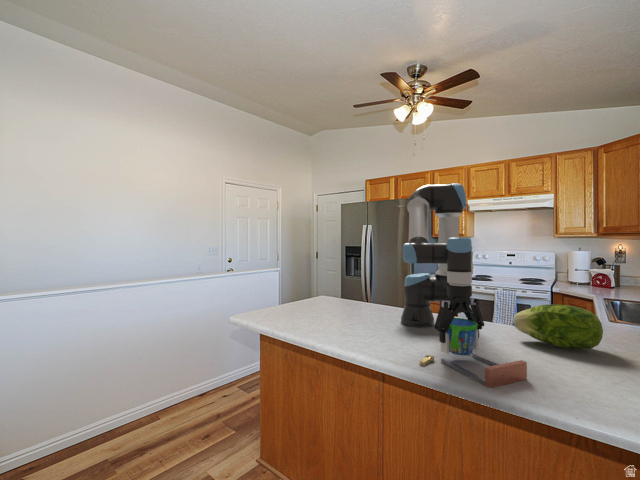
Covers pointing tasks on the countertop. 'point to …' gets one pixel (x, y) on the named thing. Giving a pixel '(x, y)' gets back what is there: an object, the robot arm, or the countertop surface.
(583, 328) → the lettuce
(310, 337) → the countertop surface
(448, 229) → the robot arm
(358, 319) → the countertop surface
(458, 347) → the snack cup
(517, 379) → the bracket
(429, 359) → the brass key
